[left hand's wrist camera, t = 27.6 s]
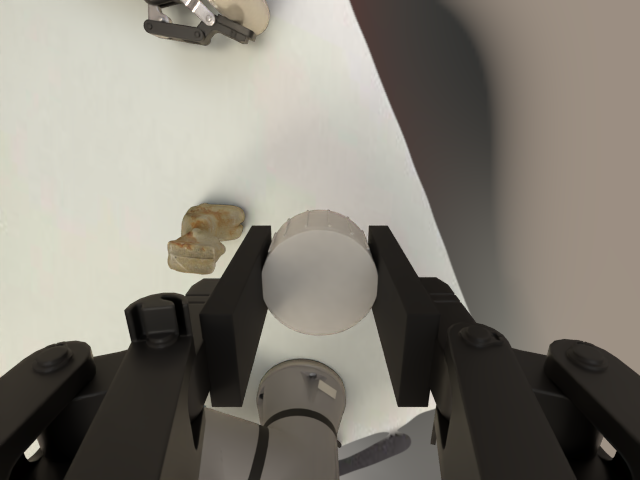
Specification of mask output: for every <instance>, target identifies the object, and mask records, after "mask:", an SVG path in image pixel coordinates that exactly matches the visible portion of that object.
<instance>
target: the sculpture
mask: <svg viewBox="0 0 640 480" xmlns="http://www.w3.org/2000/svg"><path fill="white" fill-rule="evenodd" d="M244 219H245V215H244V212H243V210H242V209H240V208H239V207H236V206H231V205H211V204H207V203H203V204H200V205H199V206H194V207H191V208H190V209H189V210H188V211H187V213H186V214H185V216H184V218H183V221H182V229H181V237H180V238H178V239H177V240H174V241H169V242H168V265H169V267H170V268H171V269H174V270H176V271H179V272H184V273H196V274H210V273H212V272H213V271H214V268H215V263H216V262H217V260H218V259H219V257H220V256H221V255H222V254H224V253H225V251H226V249H225V246H224V245H223V244H222V243H221V242H220V241H228V240H234V239H237V238H239V237H240V236H241V233H242V231H243V230H242V229H243V226H242V225H241V224H240V223H242V222H243V221H244Z"/></svg>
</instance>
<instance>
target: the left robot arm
mask: <svg viewBox="0 0 640 480" xmlns="http://www.w3.org/2000/svg"><path fill="white" fill-rule="evenodd" d="M271 242H272V239H271V226H252V227H251V228H250V230H249V232H248V233H247V235H246V237H245V238H244V240H243V242H242V243H241V245H240V247H239V248H238V250H237V252H236V253H235V255H234V257H233V258H232V260H231V262H230V263H229V265H228V267H227V268H226V270H225V272H224V273H223V275H222V277H221V278H220V279H202V280H201V281H199V282H197V283H196V284H194V285H193V286H192V287H191V288H190V289H189V291H188V292H187V293H186V296H184V295H181V294H177V293H159V294H154V295H150V296H147V297H144V298H141V299H139V300H137V301H135V302H133V303H132V304H130V305H129V306H128V307H127V308H126V309H125V310H124V311H125V316H126V320H127V324H128V329H129V333H130V338H131V344H130V346H129V348H128V350H125V351H121V352H116V353H111V354H106V355H101V356H96V357H93V354H92V351H91V347H90V346H89V345H88V344H87V343H85V342H80V341H68V342H60V343H57V344H52V345H49V346H47V347H45V348H43V349H41V350H38V351H36V352H34V353H33V354H31V355H30V356H28V357H26V358H25V359H23V360H22V361H21V362H20V363H18V364H17V365H16V366H15V367H13V368H12V369H11V370H10V371H8V372H7V373H6V374H4V375H3V376H2V377H1V378H0V480H339V465H338V448H337V447H339V448H340V447H341V445H342V444H341V443H340V442H339V441H338V440H337V432H338V428H339V425H340V422H341V418H342V415H343V413H344V410H345V405H346V397H345V388H344V385H343V382H342V381H341V379H340V377H339V376H338V375H337V374H336V373H335V372H334V371H333V370H332V369H331V368H329V367H327V366H326V365H324V364H321V363H319V362H316V361H311V360H302V359H300V360H290V361H286V362H283V363H280V364H278V365H276V366H275V367H273V368H272V369H270V370H269V371H268V372H267V373H266V374H265V375H264V377H263V378H262V380H261V382H260V385H259V389H258V394H257V407H258V413H259V418H260V424H261V425H259V424H256V423H253V422H250V421H247V420H244V419H241V418H237V417H234V416H231V415H228V414H225V413H222V412H219V411H216V410H213V409H209V408H206V406H205V405H204V403H205V401H206V398H207V396H208V393H209V391H210V396H211V403H212V407H242V404H243V400H244V397H245V393H246V389H247V385H248V381H249V378H250V374H251V370H252V366H253V363H254V359H255V355H256V351H257V348H258V344H259V340H260V336H261V332H262V329H263V325H264V321H265V317H266V314H267V310H268V307H267V305H266V303H265V301H264V299H263V287H262V269H263V266H264V263H265V260H266V258H267V255H268V250H269V247H270V245H271ZM368 246H369V248H370V252H371V254H372V257H373V260H374V263H375V265H376V269H377V273H378V284H377V296H376V299H375V302H374V304H373V306H372V311H373V314H374V318H375V322H376V326H377V329H378V333H379V337H380V341H381V345H382V348H383V352H384V356H385V360H386V363H387V367H388V371H389V375H390V379H391V382H392V386H393V390H394V394H395V397H396V401H397V405H398V407H428V402H429V395H430V390H431V392H432V395H433V397H434V400H435V402H436V410H435V417H434V424H433V430H432V437H431V444H434V445H435V444H436V440H437V448H438V456H439V463H440V471H441V479H442V480H640V376H639V375H638V374H637V373H636V372H634V371H633V370H632V369H631V368H629V367H628V366H627V365H625V364H624V363H623V362H622V361H620V360H619V359H618V358H617V357H615V356H613V355H612V354H610V353H609V352H607V351H606V350H604V349H601V348H599V347H597V346H595V345H593V344H591V343H587V342H583V341H579V340H569V339H562V340H556V341H554V342H553V343H552V344H550V346H549V350H548V353H547V355H542V354H537V353H532V352H527V351H522V350H518V349H514V348H511V346H510V344H509V342H508V340H507V339H506V338H505V337H504V336H503V335H502V334H501V333H499V332H498V331H496V330H495V329H493V328H491V327H488V326H486V325H483V324H478V323H476V322H475V320H474V319H473V318H472V316H471V315H470V314H469V312H468V311H467V310H466V308H465V307H464V306H463V304H462V303H461V302H460V300H459V299H458V298H457V296H456V295H454V292H453V291H452V289H451V288H450V287H449V285H448V284H446V283H444V282H443V281H441V280H440V279H438V278H436V277H418V276H417V274H416V272H415V270H414V269H413V267H412V265H411V264H410V262H409V260H408V259H407V257H406V255H405V254H404V252H403V250H402V249H401V247H400V245H399V244H398V242H397V240H396V239H395V237H394V235H393V234H392V232H391V230H390V229H389V227H388V226H369V235H368ZM603 436H604V437H605V438H606V440H607V441H608V442H609V443H610V444H611V445H612V446H613V447H614V448H615V449H616V450H617V452H616V454H615V456H614V458H611V457H610V456H609V455H608V454H607V453H606V452H605V451H604V450H603V449H602V448H601V446H600V444H601V442H602V439H603ZM36 439H37V440H38V442H39V445H40V448H39V449H38V451H37V452H36V453H35V454H34V455H33V456H32V457H30V458H29V459H28V460H27V459H26V457H25V455H24V452H25V451H26V450H27V449H28V447H29V446H30V445H31V444H32V443H33V442H34V441H35V440H36Z"/></svg>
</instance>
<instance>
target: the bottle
mask: <svg viewBox="0 0 640 480" xmlns="http://www.w3.org/2000/svg"><path fill="white" fill-rule="evenodd" d="M207 1H208V2H209V3H210V4H211V5H212V6H213V7H214V8H215V9H216V10H217V11H219V12H220V13H221V14H222V15H223V16H224V17H226V18H227V19H230V20H232V21H234V22H236V23H238V24H240V25H242V26H244V27H246V28H248V29H250V30H252V31H253V32H255V34H256V36H257V35H259V34H261V33H262V32H263V31H264V30H265V29H266V27H267V25H268V23H269V18H270V13H269V8H268V5H267V3H266V1H265V0H207Z"/></svg>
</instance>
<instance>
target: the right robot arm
mask: <svg viewBox="0 0 640 480" xmlns="http://www.w3.org/2000/svg"><path fill="white" fill-rule="evenodd" d="M145 1H146V2H147V3H148V20H146V21H145V22H144V29H145V30H146V32H148V33H150V34H152V35H154V36H157V37H159V38H163V39H169V40H175V41H181V42H187V43H193V44H199V45H205V46H206V45H209V44H210V41H211V38H212V37H213V35H214V34H216V33H221V34H223V35H225V36H228V37H230V38H232V39H234V40H236V41H238V42H240V43H242V44H248V41H249V40H251V41H255V38H256V34H255V32H253V31H252V30H250V29H248V28H246V27H244V26H242V25H240V24H238V23H236V22H234V21H232V20H230V19H227V18H226V17H224V16H222V15H220V14H218V16H216V15H214V14H213V13H212V12H211V11H210V10H209V9H208V8H207V7H206V6H205V5H204V4H203V3H202V2H201V1H200V0H145ZM180 3H184V4H185V5H186V6H187V7H188V8H189V9H190V10H191V11H192V12H194V13H195V14H196V15H197V16H198V17H199V18H200V19H201V20H202V21H201V22H200V24H199V25H198V27H197V28H196V27H190V26H184V25H179V24H173V23H172V20H171V19H170V18H169V17H168V16H166V15H164V14H163V13H162V10H161V8H165V7H169V6H172V5H176V4H180Z"/></svg>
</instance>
